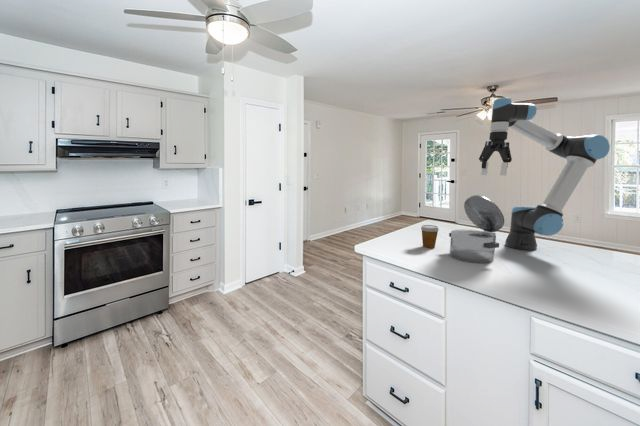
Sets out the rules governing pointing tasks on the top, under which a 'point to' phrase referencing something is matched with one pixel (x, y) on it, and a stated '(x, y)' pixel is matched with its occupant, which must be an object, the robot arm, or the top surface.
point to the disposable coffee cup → (429, 236)
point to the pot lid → (484, 213)
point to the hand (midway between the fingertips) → (493, 175)
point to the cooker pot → (473, 245)
